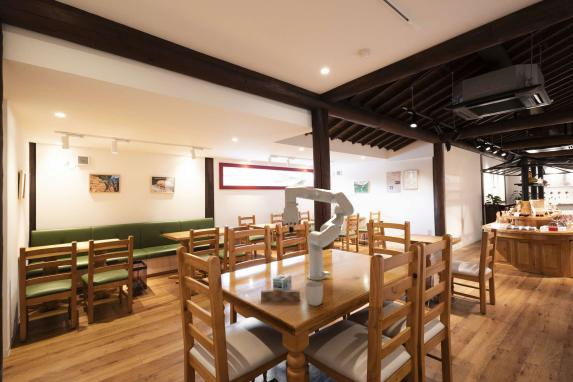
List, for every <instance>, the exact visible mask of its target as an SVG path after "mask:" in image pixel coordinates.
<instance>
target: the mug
mask: <svg viewBox="0 0 573 382" xmlns="http://www.w3.org/2000/svg"><path fill="white" fill-rule="evenodd" d="M305 295H306V301H307V303H308V304H309V306H314V307H315V306H320V305H321V304H322V302H323V296H324V284H323V283H322V282H320V281H308V282H306V283H305Z"/></svg>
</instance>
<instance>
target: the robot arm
mask: <svg viewBox="0 0 573 382" xmlns="http://www.w3.org/2000/svg"><path fill="white" fill-rule="evenodd" d="M297 198H299V199H305V200H310V201H316V202H323V203H328V204H336V206H335V207H334V210H333V211H334V213H333V216H332V217H331V218H330V219H329V220H327V221H326V222H325V223H323V224H322V225H321V227H320V229H319V231H316V230H312V231H310V232H309V233H308V235H307V237H306V239H307V245H308V265H309V266H308V269H309V272H308V273H309V274H307V275H306V277H307V279H309V280H311V281H321V280H322V281H323V280H325V279H326V277H327V276H331V272H330V271H325V270H324V259H323V258H324V249H323V248H325V247H327V246H329V245H330V244H331V243H333V242H334V241H335V240H336V239H337V238H338V237H339V236H340V233H341V227H342V226H343V224H344V222H345V221H344V220H345V217H350V216H352V215H354V213H355V212H354V211H355V209H354V206H353V204H352V203H351V201H350V200H349V199H348V197H347V196H346V194H345V193H343V192H342V191H340V190H339V191H337V190H335V191H334V190H327V189H323V188H322V189H321V188H307V186H304V185H303V186H302V185H300V186H286V187H285V188H284V208H283V217H282V218H283V222H282V224H283V225H286V226H288V231H289V233H290V234H293V232H295V231H294V228H295V226H296V225H299V224H300V221H299V220H300V219H299V218H300V217H299V208H298V206H299V203H298V202H297ZM291 223H292V225H291Z"/></svg>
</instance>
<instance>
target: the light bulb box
mask: <svg viewBox="0 0 573 382" xmlns="http://www.w3.org/2000/svg"><path fill="white" fill-rule="evenodd" d="M272 287H273V289H272V290H293V289H292V287H293V286H292V275H291V274H285V273H281V274H279V275H277V276H275V277H273V279H272Z"/></svg>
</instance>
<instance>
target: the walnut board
mask: <svg viewBox="0 0 573 382" xmlns="http://www.w3.org/2000/svg"><path fill="white" fill-rule="evenodd" d="M260 301H261V302H300V301H301V293H300V290H299V289H298V290H297V289H296V290H295V289H294V290H293V289H292V290H273V289H272V290H269V289H268V290H267V289H265V290H260Z"/></svg>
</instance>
